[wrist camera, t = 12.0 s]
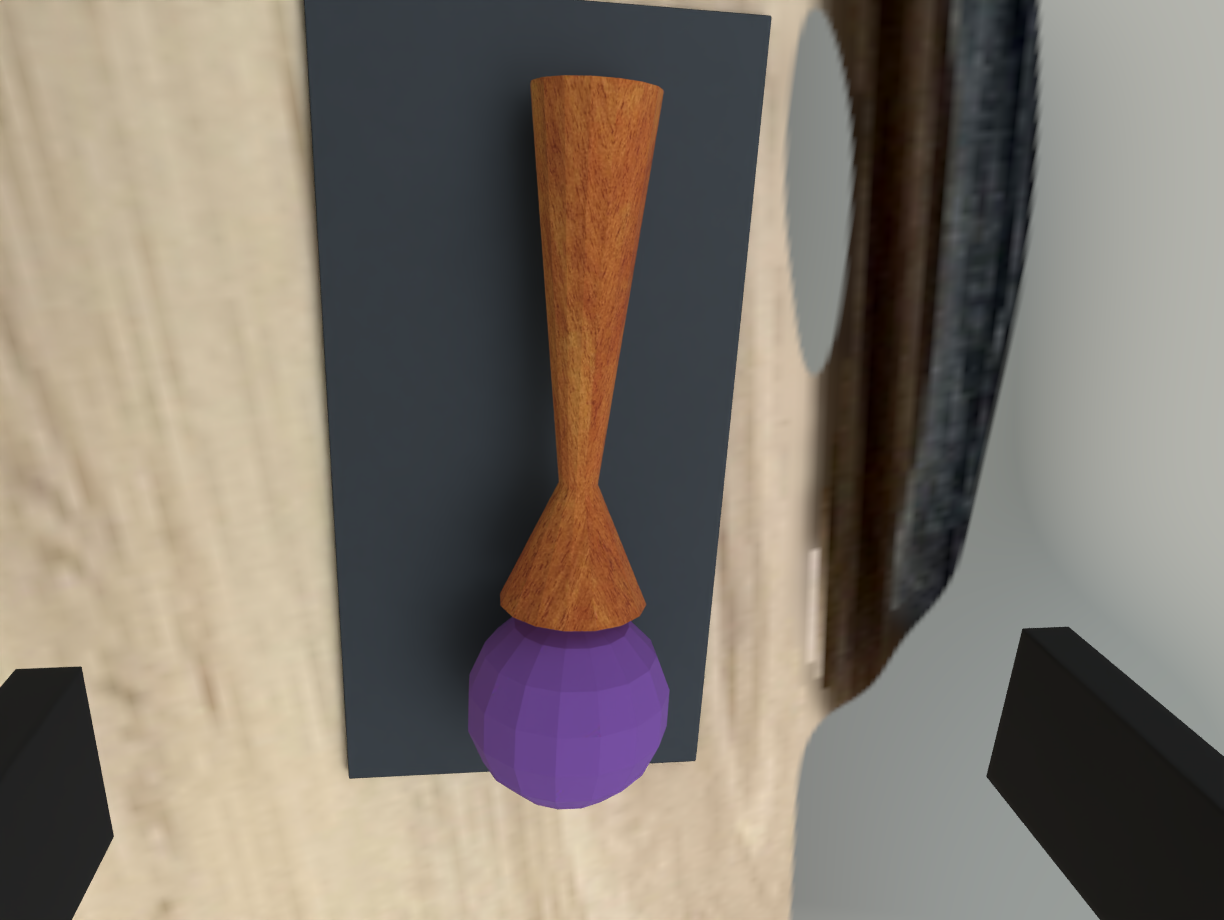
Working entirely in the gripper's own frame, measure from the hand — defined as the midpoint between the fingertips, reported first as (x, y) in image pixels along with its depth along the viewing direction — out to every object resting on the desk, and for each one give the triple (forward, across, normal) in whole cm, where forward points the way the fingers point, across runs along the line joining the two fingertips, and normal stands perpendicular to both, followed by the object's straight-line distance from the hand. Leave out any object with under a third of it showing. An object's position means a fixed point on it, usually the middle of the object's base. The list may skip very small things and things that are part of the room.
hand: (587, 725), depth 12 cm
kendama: (+15, +1, -1) cm, 15 cm away
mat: (+15, 0, -1) cm, 15 cm away
